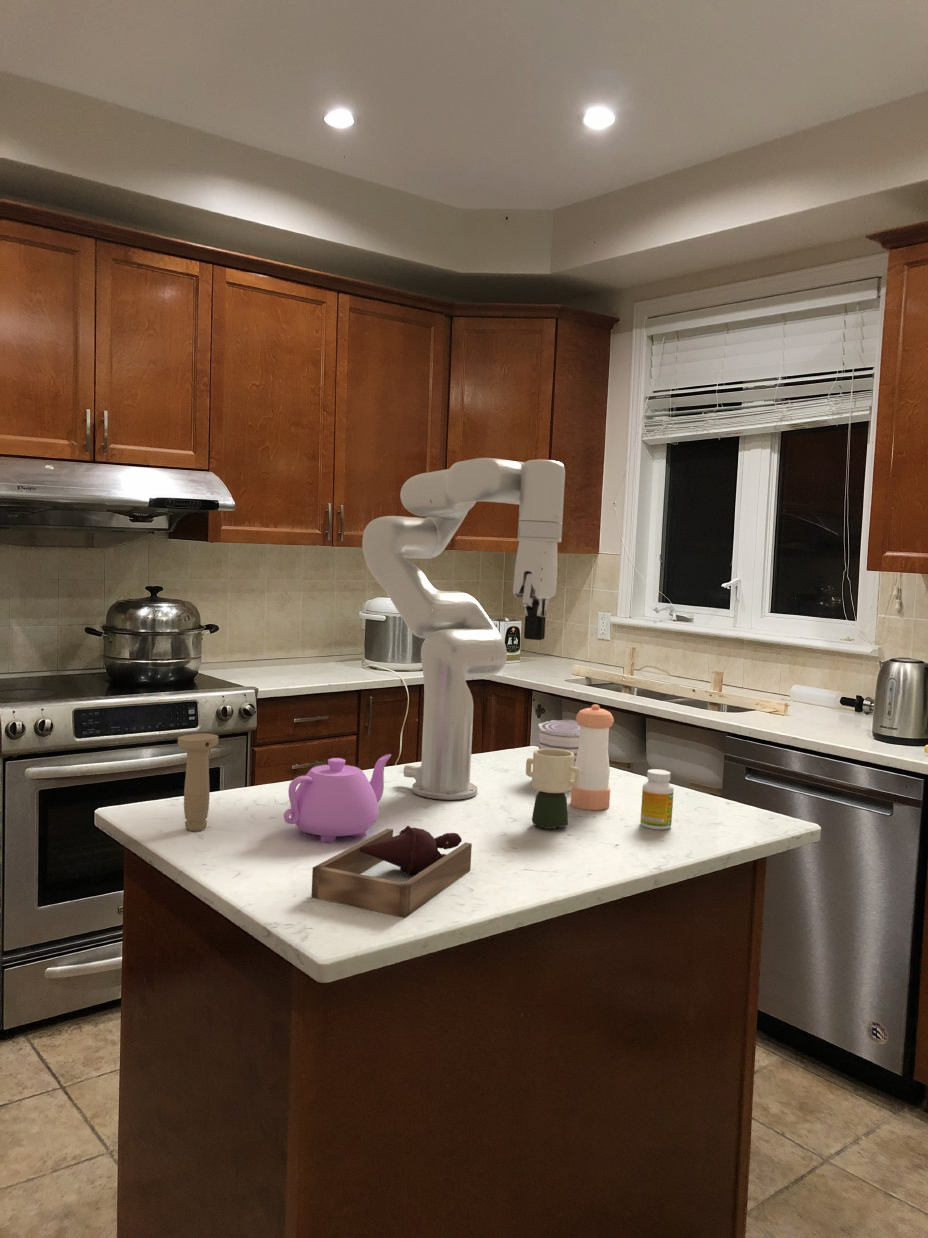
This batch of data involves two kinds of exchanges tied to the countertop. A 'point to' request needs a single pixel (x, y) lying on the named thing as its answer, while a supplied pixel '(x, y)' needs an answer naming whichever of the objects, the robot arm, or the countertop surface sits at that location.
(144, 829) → the countertop surface
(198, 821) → the handle
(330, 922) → the countertop surface
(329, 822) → the teapot
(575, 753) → the can
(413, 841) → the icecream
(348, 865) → the frame
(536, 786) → the character mug
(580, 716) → the salt shaker
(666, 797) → the supplement bottle
